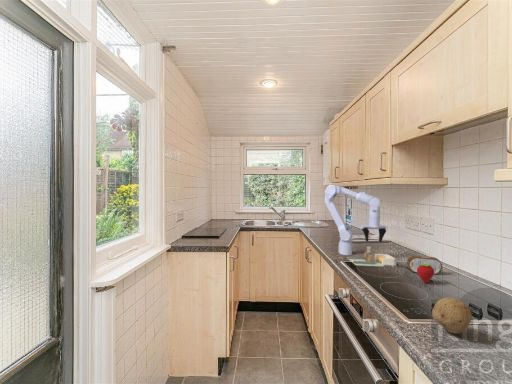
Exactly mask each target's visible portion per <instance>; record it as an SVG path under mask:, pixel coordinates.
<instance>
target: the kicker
mask: <svg viewBox="0 0 512 384" xmlns="http://www.w3.org/2000/svg"><path fill="white" fill-rule="evenodd" d="M372 248H373V247H372V246H371V245H368V246H366V251H365V252H364V255H363V257H364V259H365V260H366V261H367V262H374V259H375V255H373V254H372V252H373V251H372V250H373V249H372Z"/></svg>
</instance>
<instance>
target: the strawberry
mask: <svg viewBox="0 0 512 384" xmlns="http://www.w3.org/2000/svg"><path fill="white" fill-rule="evenodd" d="M422 264H423V263H422ZM416 274H417V275H418V277H419V278H420V280H421V281H422V282H423V283H424V284H427V283H429V282H430V280H431V279H432V278H433V277H434V269H433V268H432V266H431V265H426V264H423V265H422V266H419V267H418V268H417V273H416Z"/></svg>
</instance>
